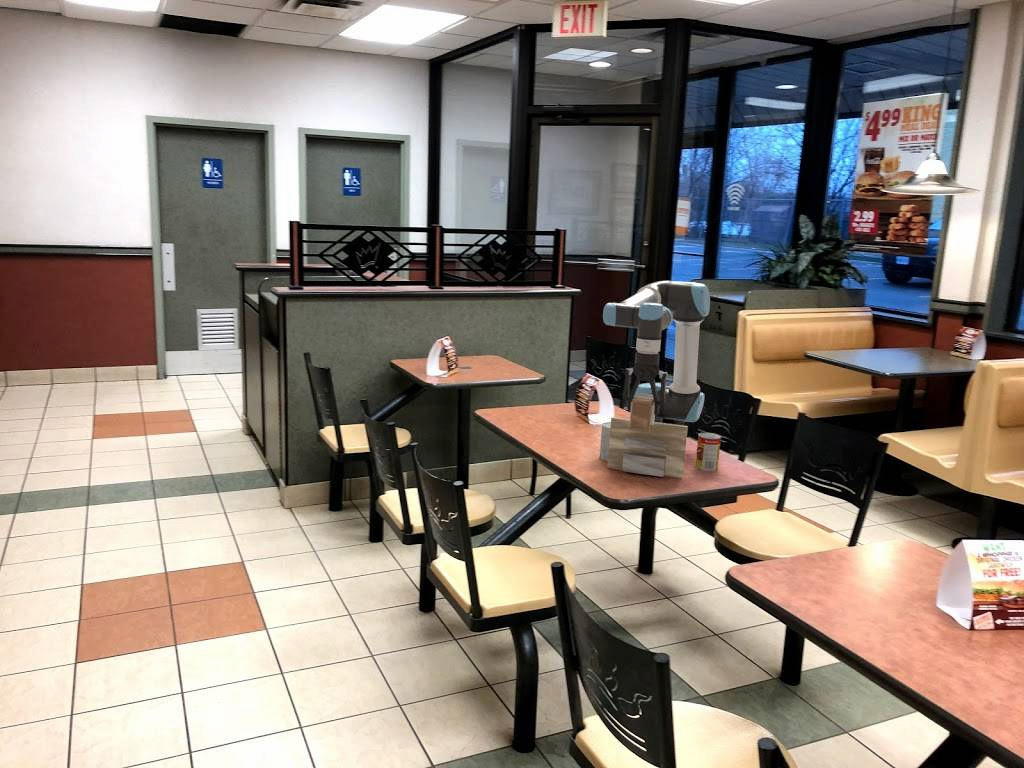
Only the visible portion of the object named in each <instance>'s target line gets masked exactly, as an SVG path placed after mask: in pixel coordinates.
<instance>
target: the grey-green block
mask: <svg viewBox="0 0 1024 768" xmlns="http://www.w3.org/2000/svg"><path fill="white" fill-rule="evenodd" d="M610 428H611V421H610V422H609V421H608V422H603V423H601V432H600V433H601V434H600V448H599V456H598V457H599V459H600V460H601V461H605V462H608V454H609V441H610Z"/></svg>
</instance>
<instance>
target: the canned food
mask: <svg viewBox="0 0 1024 768" xmlns="http://www.w3.org/2000/svg"><path fill="white" fill-rule="evenodd" d="M721 439H722V436H721V435H720V434H717V433H713V432H700V433H698V437H697V445H696V455H695V465H694V467H695V468H696V469H697V470H701V471H705V472H716V471H718V469H719V458H720V451H721Z"/></svg>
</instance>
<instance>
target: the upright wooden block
mask: <svg viewBox="0 0 1024 768" xmlns="http://www.w3.org/2000/svg"><path fill="white" fill-rule="evenodd" d="M653 403H654V399H653V395H651V394H642V393H638V394H637V395H636V396H635V397H634V398H633V399H632V410H631V423H630V430H633V431H641V432H649V431H650V430H651V428H652V426H653V425H650V424H651V412H652V404H653Z"/></svg>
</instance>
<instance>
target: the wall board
mask: <svg viewBox="0 0 1024 768" xmlns="http://www.w3.org/2000/svg"><path fill="white" fill-rule="evenodd" d="M610 422H611V428H610V441H609V454H608V461H607V469H612V470H613V469H614V470H621V471H622V472H627V473H633V474H640V475H648V476H649V475H650V476H655V477H662V478H663V477H670V478H671V477H672V478H676V479H677V478H678V479H683V478H684V470H685V460H686V449H687V438H688V437H687V436H688V427H689V426H688V425H681V424H673V423H665V422H662V423H658V422H654V424H653V426H652V428H651V430H650V431H649V432H641V431H633V430H630V423H631V422H630V418H622V417H614V416H611V418H610Z"/></svg>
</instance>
